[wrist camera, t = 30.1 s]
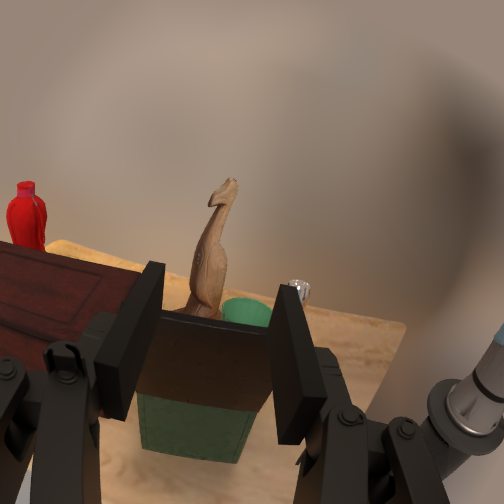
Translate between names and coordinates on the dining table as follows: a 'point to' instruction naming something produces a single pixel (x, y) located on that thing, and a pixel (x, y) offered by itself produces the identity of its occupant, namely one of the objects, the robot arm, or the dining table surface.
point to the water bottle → (27, 217)
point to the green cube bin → (193, 429)
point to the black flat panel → (207, 363)
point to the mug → (246, 311)
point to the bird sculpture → (210, 258)
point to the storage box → (52, 300)
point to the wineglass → (301, 291)
